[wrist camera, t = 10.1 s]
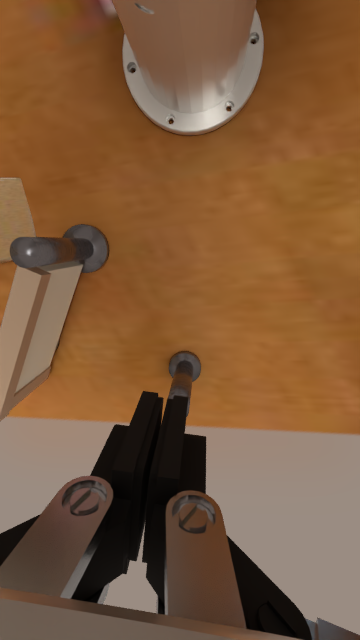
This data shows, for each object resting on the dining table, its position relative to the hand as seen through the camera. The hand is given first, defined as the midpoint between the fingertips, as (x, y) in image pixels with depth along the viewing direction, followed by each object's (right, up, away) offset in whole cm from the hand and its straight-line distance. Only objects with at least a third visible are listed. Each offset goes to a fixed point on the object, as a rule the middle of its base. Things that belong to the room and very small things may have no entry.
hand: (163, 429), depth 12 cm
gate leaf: (-13, +4, +24) cm, 27 cm away
